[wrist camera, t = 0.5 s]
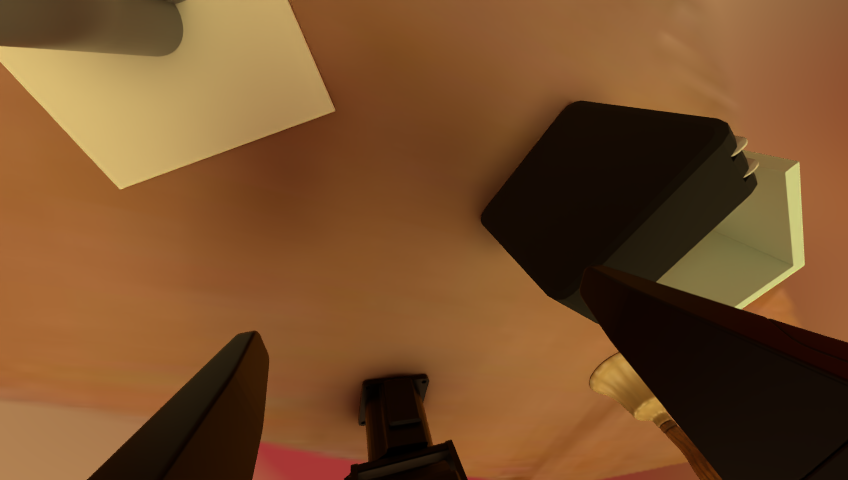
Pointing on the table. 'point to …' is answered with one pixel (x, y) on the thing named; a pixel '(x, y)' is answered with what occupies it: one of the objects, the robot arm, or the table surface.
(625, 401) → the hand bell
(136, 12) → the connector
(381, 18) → the table surface
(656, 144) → the electronic device
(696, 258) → the l-shaped corner panel
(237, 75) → the mat
